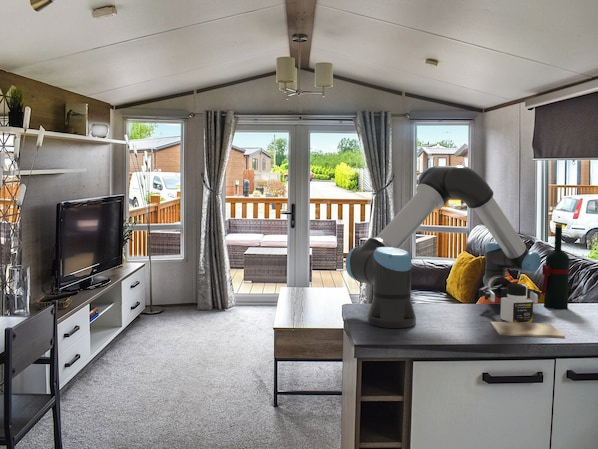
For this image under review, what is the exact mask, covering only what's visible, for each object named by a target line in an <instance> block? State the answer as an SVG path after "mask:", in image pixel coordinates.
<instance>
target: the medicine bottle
mask: <svg viewBox="0 0 598 449" xmlns="http://www.w3.org/2000/svg"><path fill="white" fill-rule="evenodd" d="M511 283H512V282H511ZM527 288H528V286H527V284H523V283H514V282H513V283H512V284H509V285H508V286H507V296H508V297H503V298H501V299H500V315H499V316H500V317H499V318H500V320H503V321H504V322H514V323H533V318H534V316H533V314H534V313H533V310H534V302H533V301H531V300H530V299H529V298H527Z"/></svg>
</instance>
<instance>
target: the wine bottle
mask: <svg viewBox="0 0 598 449" xmlns="http://www.w3.org/2000/svg"><path fill="white" fill-rule="evenodd" d="M562 236H563V224H562V223H555V228H554V250H551V251H550V252H548V253H547V255H546V258H545V264H542V268H541V269H542V272H541V275H542V276H544V277H543V282H542V289H541V291H540V296H541V295H542V296H543V307H544V308H545V309H549V310H557V311H559V310H560V311H561V310H562V311H564V310H568V308H569V304H568V303H569V281H570V280H569V279H570V278H569V276H570V257H569V255H568V254H567V253H566V252H565V251H563V250H562V243H563V242H562V241H563V240H562V239H563V237H562Z"/></svg>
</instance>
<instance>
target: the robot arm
mask: <svg viewBox="0 0 598 449" xmlns="http://www.w3.org/2000/svg"><path fill="white" fill-rule="evenodd" d="M415 189H416V191H415V192H416V193H415V194H414V195H413V196H412V197H411V198H410V200H409V201H408V202H407V203H406V204H405V205H404V206H403V208H401V210H400V211H399V212H398V213H397V214H396V215H395V216H394V217H393V218H392V219H391V220H390V221H389V223H388V224H387V225H386V226H385V227H384V228H383V229H382V230H381V231H380V232H379V234H378V235H377V236H376V237H369V238H368V239H366V241H365V242H364V243H363V245H361V246H356V247H353V248H352V249H350V250H349V252H348V253H347V255H346V258H345V269H346V270H345V271H346V272H347V274H348V276H349V277H350V278H351V279H352V280H355V281H356V282H359V283H364V284H368V285H371V286H373V297H372V301H371V304H370V307H369V310H368V312H367V323H368V324H369V325H372V326H374V327H377V328H378V327H379V328H387V329H405V328H410V327H414V326H415V325H416V324H417V323H416V322H417V317H416V314H415V309H414V306H413V303H412V300H411V298H412V297H411V296H412V295H411V294H412V293H411V292H412V267H413V264H412V256H411V254H410V253H409V251H407V250H405V249H403V248H402V247H403V246H404V244H405V243H406V242H407V241H408V240H409V239H410V238H411V237H412V236H413V235H414V233H416V231H417V230H418V229H419V227H421V225H422V224H424V222H425V221H426V220H427V218H429V216H430V215H431V214H432V213H433V212H434V211H435V210H436V209H437V210H439V209H442V208H443V207H444V206H445V205H446V203H448V201H450V200H460V201H462V202H464V203H465V205H466V206H467V208H469V209H471V210H474V212H475V213H476V214H477V216H478V217H479V219H480V221H481V222H482V223H483V225H484V226H485V228H486V229H487V230H488V232H489V233H490V235H491V236H492V238H493V239H494V241H487V243H486V246H485V247H486V249H485V268H484V269H485V271H484V276H483V278H482V282H483V285H484V286H483V287H481V288H479V289H478V297H479V298H482V297H484V300H490V301H491V303H495V301H496V298H498V299H500V300H501V298H503V297H508V296H507V286H508V285H509V284H512V281H510V280H509V279H508V278H506V277H507V276H506V275H507V274H506V273H507V269H508V270H512V271H513V270H514V271H519V272H523V273H535V272H537V271H538V270H539V268H540V267H541V265H542V259H541V256H540V254H539V253H538V252H534V251H533V250H529V249H528V247H527V246H526V244H525V242H524V241H523V240H522V239H521V237H520V235H519V234H518V232H517V231H516V229H515V227H514V226H513V225H512V223H511V222H510V220H509V219H508V217H507V216H506V214H505V213H504V211H503V210H502V208H501V207H500V205H499V203H498V202H497V201H496V199H495V198H494V191H493V189H492V188H491V186H490V185H489V184H488V182H487V181H486V180H485V179H484V178H483V177H482V176H481V175H480V174H479V173H478V172H476V171H475V170H474V169H472V168H470V167H468V166H466V165H460V164H459V165H435V166H430V167H428V168H426V169H424V170H423V171H422V172H421V173H420V175H419V177H418V182H417V185H416V188H415ZM540 294H541V291H540V290H536V288H535V289H531V288H528V287H527V298H526V299H529V300H531V301H533V304H538V302H539V301H538V300H539V299H541V295H540ZM495 297H496V298H495Z"/></svg>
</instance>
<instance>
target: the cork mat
mask: <svg viewBox="0 0 598 449" xmlns="http://www.w3.org/2000/svg"><path fill="white" fill-rule="evenodd" d="M490 325H491V326H492V328H493V329H494V330H495V331H496V333H497V334H498V335H499V336H508V337H509V336H510V337H511V336H514V337H516V336H517V337H537V338H560V339H562V338H563V339H564V338H566V337H565V336H566V335H565V334H563V333H562V332H561V331H560V330H558V329H557V328H556V327H555V326H554V325H552V324H551V323H539V322H538V323H537V322H536V323H535V322H532V323H514V322H507V321H490Z"/></svg>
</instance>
